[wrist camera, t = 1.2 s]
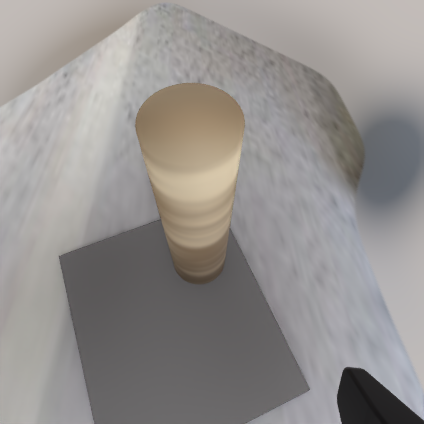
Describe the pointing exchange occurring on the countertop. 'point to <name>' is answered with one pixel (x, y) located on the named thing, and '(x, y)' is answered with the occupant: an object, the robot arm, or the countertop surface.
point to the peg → (193, 171)
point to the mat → (174, 336)
